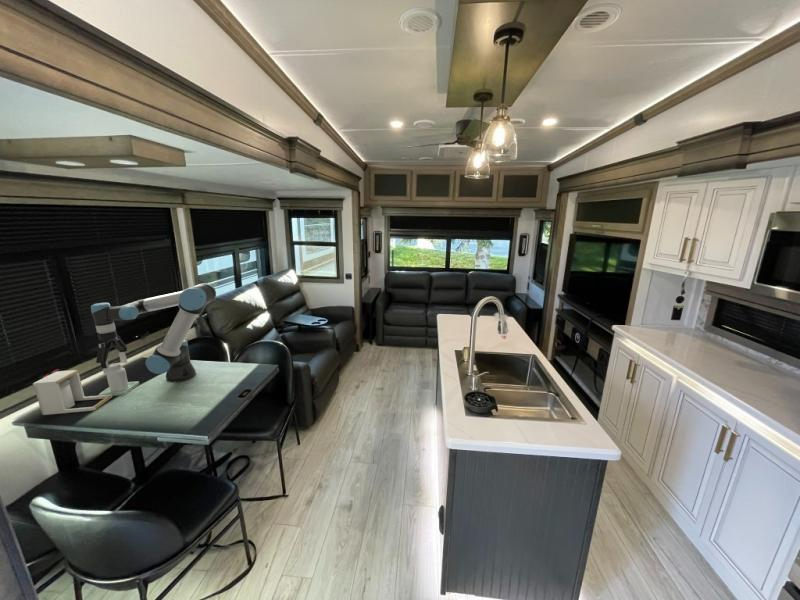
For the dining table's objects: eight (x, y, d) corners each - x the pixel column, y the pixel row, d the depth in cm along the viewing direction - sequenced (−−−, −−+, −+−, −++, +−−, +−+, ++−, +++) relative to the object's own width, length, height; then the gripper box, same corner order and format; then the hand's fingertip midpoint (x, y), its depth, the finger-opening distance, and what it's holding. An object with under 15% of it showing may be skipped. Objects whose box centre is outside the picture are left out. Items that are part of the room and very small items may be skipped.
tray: (139, 384, 185) (138, 381, 185) (125, 394, 173) (124, 391, 173) (115, 385, 183) (114, 383, 183) (99, 396, 171) (98, 394, 171)
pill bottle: (118, 393, 173) (112, 368, 170) (106, 392, 175) (100, 367, 172) (132, 386, 181) (127, 362, 178) (121, 385, 183) (115, 361, 179)
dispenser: (112, 396, 171) (105, 367, 167) (94, 410, 159) (86, 379, 155) (64, 401, 168) (56, 371, 164) (42, 415, 155) (32, 383, 151)
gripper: (115, 325, 182) (123, 359, 187) (80, 340, 158) (91, 378, 163) (129, 324, 183) (137, 358, 188) (97, 338, 159) (107, 377, 164)
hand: (116, 367), depth 175 cm, fingers open, 13 cm apart
